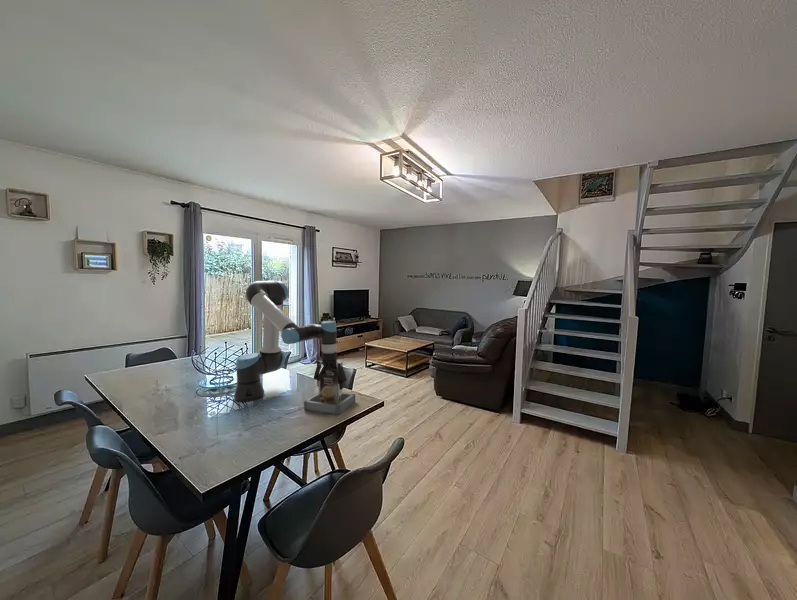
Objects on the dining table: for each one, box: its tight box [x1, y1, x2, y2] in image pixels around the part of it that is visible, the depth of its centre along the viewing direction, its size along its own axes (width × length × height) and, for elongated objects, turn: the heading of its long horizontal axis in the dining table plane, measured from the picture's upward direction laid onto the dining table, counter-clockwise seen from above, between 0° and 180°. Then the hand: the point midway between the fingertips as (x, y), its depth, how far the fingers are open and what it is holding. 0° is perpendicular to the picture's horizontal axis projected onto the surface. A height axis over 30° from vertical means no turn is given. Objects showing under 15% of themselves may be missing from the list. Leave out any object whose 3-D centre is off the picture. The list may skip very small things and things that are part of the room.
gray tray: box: [303, 391, 356, 417], centre depth 156 cm, size 20×17×4 cm
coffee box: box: [320, 371, 341, 405], centre depth 156 cm, size 9×6×16 cm
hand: (330, 394), depth 156 cm, fingers open, 11 cm apart
